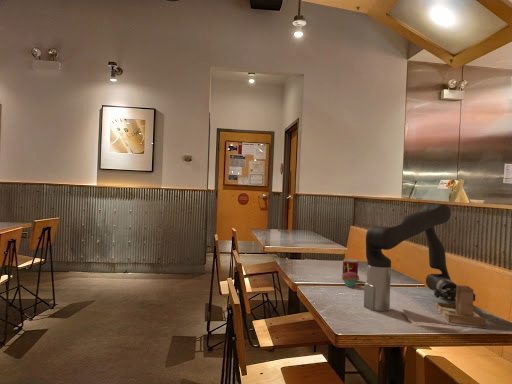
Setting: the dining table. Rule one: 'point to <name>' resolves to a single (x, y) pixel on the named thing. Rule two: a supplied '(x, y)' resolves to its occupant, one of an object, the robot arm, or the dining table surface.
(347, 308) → the dining table surface
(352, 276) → the cupcake
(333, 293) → the dining table surface
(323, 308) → the dining table surface
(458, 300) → the walnut block
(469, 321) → the tray
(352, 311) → the dining table surface
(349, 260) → the canned food
